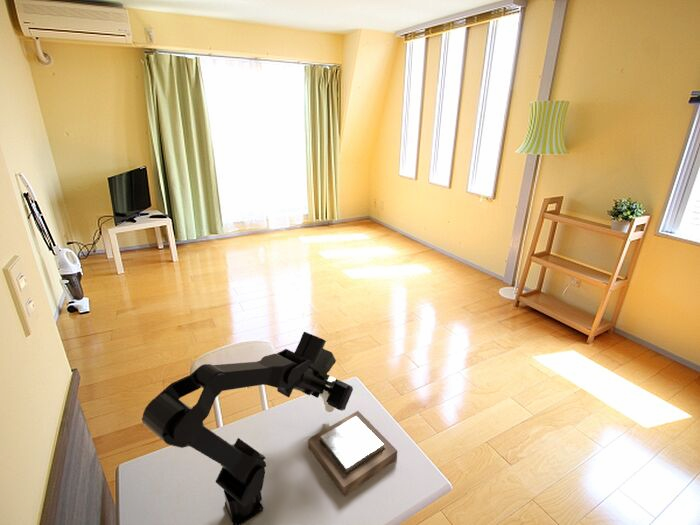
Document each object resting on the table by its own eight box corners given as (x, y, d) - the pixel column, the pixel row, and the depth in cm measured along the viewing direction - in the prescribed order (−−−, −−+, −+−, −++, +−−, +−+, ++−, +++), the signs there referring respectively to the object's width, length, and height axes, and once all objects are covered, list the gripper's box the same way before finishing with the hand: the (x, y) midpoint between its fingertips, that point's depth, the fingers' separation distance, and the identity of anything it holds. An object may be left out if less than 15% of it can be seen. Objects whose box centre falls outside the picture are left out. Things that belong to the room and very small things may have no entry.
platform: (346, 475, 84) (346, 468, 83) (320, 442, 92) (320, 436, 91) (383, 450, 90) (383, 444, 89) (356, 421, 98) (356, 415, 97)
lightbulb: (342, 403, 104) (341, 372, 100) (339, 420, 99) (338, 387, 94) (320, 402, 105) (319, 370, 101) (317, 418, 99) (315, 386, 95)
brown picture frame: (344, 496, 82) (343, 487, 80) (308, 447, 94) (307, 439, 92) (396, 459, 90) (397, 450, 89) (358, 418, 102) (358, 410, 101)
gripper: (348, 360, 85) (372, 373, 97) (290, 335, 95) (318, 350, 107) (328, 407, 82) (355, 414, 94) (270, 376, 92) (302, 386, 104)
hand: (332, 389), depth 100 cm, fingers closed on lightbulb, 6 cm apart
